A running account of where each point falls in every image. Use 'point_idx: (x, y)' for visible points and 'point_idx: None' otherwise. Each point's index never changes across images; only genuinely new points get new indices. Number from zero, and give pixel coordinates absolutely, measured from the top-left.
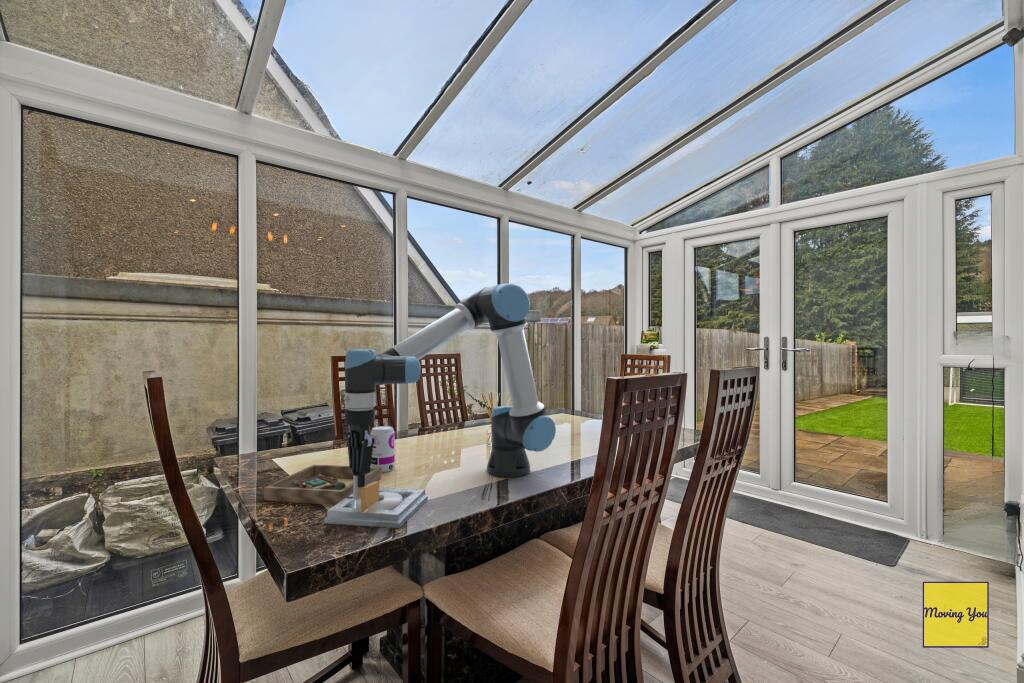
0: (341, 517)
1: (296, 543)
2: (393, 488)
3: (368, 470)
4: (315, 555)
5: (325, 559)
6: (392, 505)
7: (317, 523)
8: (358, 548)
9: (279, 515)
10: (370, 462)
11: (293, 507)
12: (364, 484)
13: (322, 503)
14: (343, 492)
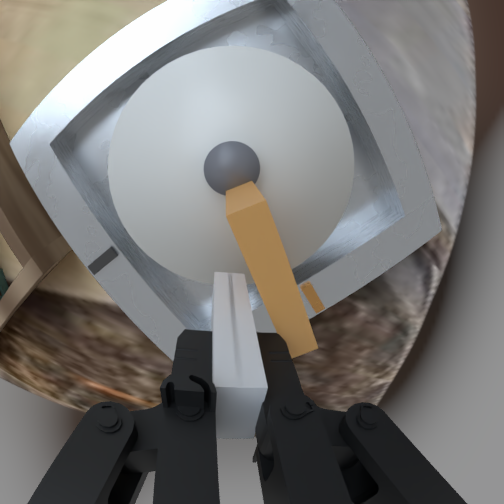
0: None
1: None
2: (134, 27)
3: (383, 427)
4: (350, 403)
5: (378, 393)
6: (351, 168)
7: None
8: (405, 344)
9: (68, 381)
10: (436, 475)
11: (28, 341)
12: (285, 345)
13: (32, 290)
14: (41, 264)
